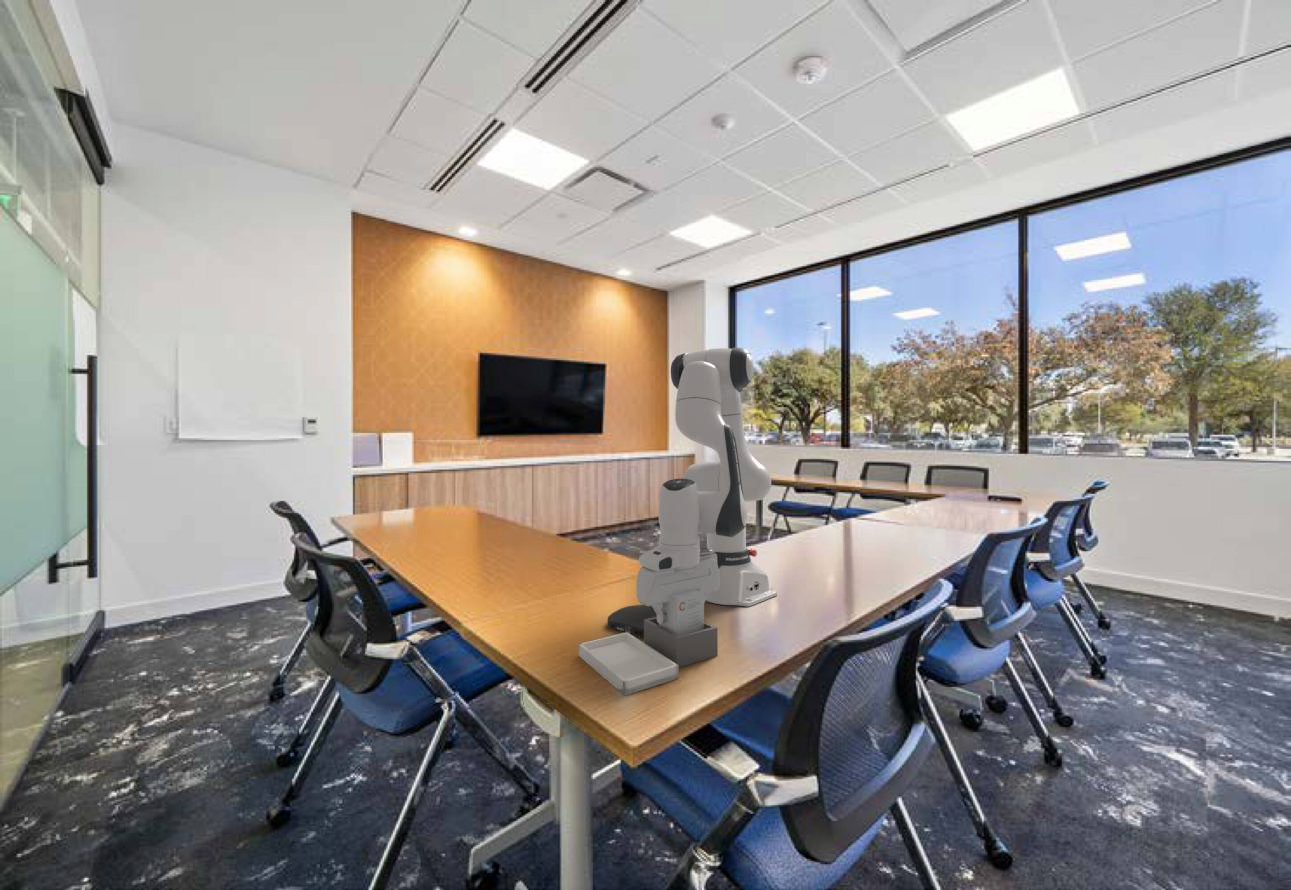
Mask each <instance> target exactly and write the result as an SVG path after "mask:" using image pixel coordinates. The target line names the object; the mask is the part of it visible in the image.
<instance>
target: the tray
mask: <svg viewBox="0 0 1291 890" xmlns="http://www.w3.org/2000/svg"><path fill="white" fill-rule="evenodd" d="M578 656H579V658H581V659H582V660H583V661H584V662H585V663H587V665H589V666H590V667H591V668H592V669H593V670H594V671H596V672H597V673H598V674H599V675H600V676H601V677H603V678H604V679H605V680H606V681H607V682H609V683H610V684H611V685H612V686H613V687H614V688H615V689H616V690H618V691H619V692H620V693H621V694H622V695H623V696H628V695H631V694H635V693H637V692H641V691H644V690H647V689H650V688H653V687H656V686H659V685H662V684H665V683H668V682H672V681H674V680H678V679H680V671H679V670H680V667H679V665H677V664H676V663H674V662H673V661H671V660H669V659H668V658H666V657H665V656H663V655H662V654H660V653H659V652H657V651H656V650H654V649H652V648H651V647H649V646H648V645H646V644H645V643H644V641H642V640H640V639H638V637H636V636H633V635H631V634H629V633H628V632H625V633H621V632H620V633H618V634H613V635H609V636H606V637H602V638H598V639H593V640H590V641H585V642H581V643H578Z"/></svg>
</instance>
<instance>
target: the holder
mask: <svg viewBox="0 0 1291 890" xmlns="http://www.w3.org/2000/svg"><path fill="white" fill-rule="evenodd" d="M643 643H645V644H646V645H648V646H649V647H651V648H652V649H654V650H656V651H657V652H659V653H660V654H662V655H663V656H665V657H666V658H668V659H669V660H671V661H673V662H674V663H676V664H677V665H679V668H682V667H686V666H688V665H692V664H694V663H698V662H701V661H706V660H708V659H712V658H714V657H717V656H719V655H718V653H719V652H718V651H719V650H718V648H719V647H718V646H719V645H718V627H717V626H715V625H713V624H711V623H708V622H706V621H705V620H704V630H700V631H696V632H693V633H689V634H685V635H681V636H676V635H674V634H672V633H671V632H669V631H667V630H665V629H664V628H662V627H660V626H659V623H658V622H657V617H653V618H649V619H645V620H644V638H643Z"/></svg>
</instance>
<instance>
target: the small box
mask: <svg viewBox="0 0 1291 890" xmlns="http://www.w3.org/2000/svg"><path fill="white" fill-rule="evenodd" d="M660 609H661V611H662V612H663V613H664V614H667V618H666V619H667V622H665V623H661V624H660V623H659V626H660V627H662V628H664V629H665V630H667V631H669V632H671V633H672V634H674V635H676V636H681V635H685V634H689V633H693V632H696V631H700V630H704V621H705V603H704V591H703V590H700V589H698V590H694V591H689V592H685V593H680V594H676V595H672V596H670V601H669V602H665V603H663V607H662V608H660Z"/></svg>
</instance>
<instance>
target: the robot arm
mask: <svg viewBox="0 0 1291 890" xmlns="http://www.w3.org/2000/svg"><path fill="white" fill-rule="evenodd" d="M754 366H755V364H754V360H753V358H752V355H751V353H750V352H749V351H748V350H747V349H746V348H742V347H733V348H708V349H706V350H699V351H694V352H690V353H689V352H684V353H681V354H679V355H676V356H675V358H674V359H673V361H672V362H671V365H670V378H671V382H672V384H673V386H674V388H675V389H676V390H677V393H676V399H675V413H674V414H675V424H676V425H675V426H676V427H677V429H678V430H679V432H680V433H681V434H682V435H684V436H685V437H686V438H687V439H688V440H691V441H693V442H695V443H697V444H701V445H703V446H705V447H708V448H710V449H711V450H713V451H715V452H716V453H717V455H718V458H719V461H703V462H698V463H693V464H690V465H689V466H688V467H687V469H686V470H685V472H684V475H683V478H674V479H669V480H666V481H665V482H663V483H662V485H661V488H660V494H659V501H658V523H659V527H660V533H659V538H658V545H657V546H654V547H653V548H652V549H650V550H647V551H646V552H644V553H643V554H640V555H639V557H638V564H639V565H640V566H641V567H640V568H639V570H638V572H637V576H636V590H635V591H636V594H635V595H636V598H637V601H638V602H639V603H640V604H641V605H645V606H652V607H653V609H654V611H655V612H656V614H657V622H658V623H660V624H661V623H665V622H667V619H666V618H667V614H664V613H663V612H662V611H661V609H660V608H662V607H663V603H665V602H669V601H670V596H672V595H676V594H680V593H685V592H689V591H694V590H698V589H700V590H703V591H704V604H705V602H708V603H712V604H717V605H723V606H739V607H741V606H742V607H751V606H754V605H756V604H759V603H761V602H764V601H766V600H769V599H771V598H774V597H776V596H778V591H777V590H776V589H775V588H773V587H771V586H770V581H769V576H768V574H767V573H766V572H765V570H763V569H762V568H760V567H759V566H758V565H757V564H755V563H754V561H752V559H751V557H754V558H755V557H757V555H758V550H757V549H753V548H749V549H748V548H747V533H746V532H747V521H748V510H747V509H748V508H747V505H746V503H749V502H750V503H751V502H755V501H763V500H764V499H765V498H766V497H767V496H768V495H769V493H770V490H771V487H772V478H771V474H770V472H769V470H768V469H767V467H765V466H764V465H763V464H761V462H759V461H758V460H757V459H756V458H755V457H754V456H753V455H752V453H751V452H750V449H749V448H748V445H747V442H746V439H745V432H744V422H743V420H744V419H743V405H742V398H741V393H740V392H743V389H744V388H746V387H747V386H748V385H749V384H750V383H751V382H752V379H753V376H754ZM699 534H706V548H705V550H701V547H700V546H701V545H700V543H701V542H700V536H699Z"/></svg>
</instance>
